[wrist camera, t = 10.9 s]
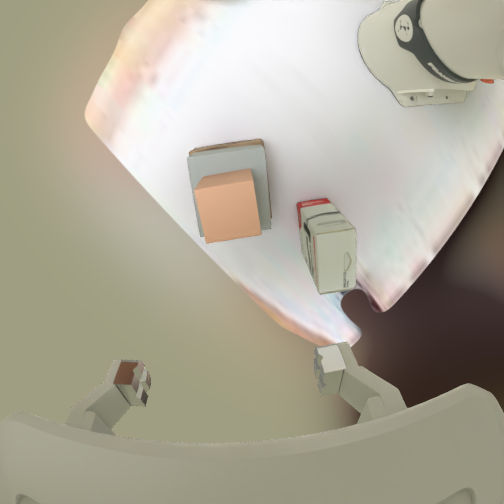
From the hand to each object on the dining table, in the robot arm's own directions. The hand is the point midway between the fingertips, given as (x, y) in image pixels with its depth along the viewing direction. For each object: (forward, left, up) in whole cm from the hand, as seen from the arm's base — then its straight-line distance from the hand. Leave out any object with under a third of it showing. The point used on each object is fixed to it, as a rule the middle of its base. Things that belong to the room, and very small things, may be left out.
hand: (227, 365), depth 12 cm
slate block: (0, -3, -25) cm, 25 cm away
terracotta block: (0, -2, -20) cm, 20 cm away
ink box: (-11, +6, -30) cm, 33 cm away
